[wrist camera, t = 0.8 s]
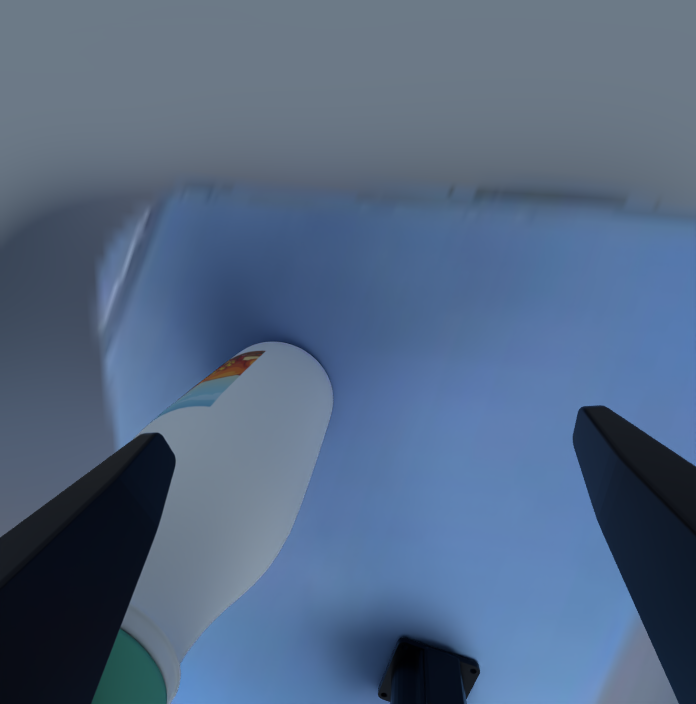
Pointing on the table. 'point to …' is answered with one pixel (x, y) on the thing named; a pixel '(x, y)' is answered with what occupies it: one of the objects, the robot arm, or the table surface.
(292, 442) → the milk bottle
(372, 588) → the table surface
